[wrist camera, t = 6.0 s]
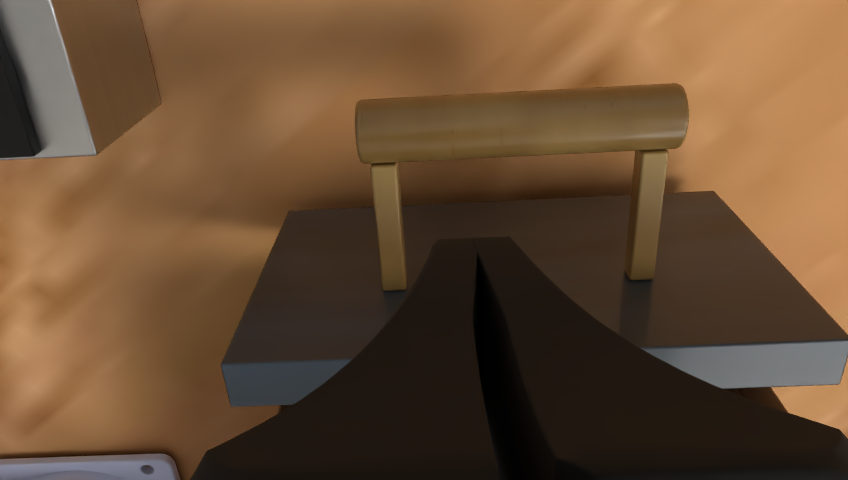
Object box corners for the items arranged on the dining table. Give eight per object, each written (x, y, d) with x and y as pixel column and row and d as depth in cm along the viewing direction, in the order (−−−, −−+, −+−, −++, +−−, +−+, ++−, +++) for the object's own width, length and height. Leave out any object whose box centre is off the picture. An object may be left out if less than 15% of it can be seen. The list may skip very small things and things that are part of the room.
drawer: (263, 59, 19) (168, 156, 12) (739, 33, 18) (920, 117, 12) (337, 508, 27) (306, 715, 20) (665, 498, 27) (745, 706, 20)
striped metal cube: (40, 110, 21) (-65, 170, 16) (-7, -34, 19) (-141, -10, 14) (162, 104, 20) (90, 162, 16) (127, -42, 18) (34, -20, 14)
